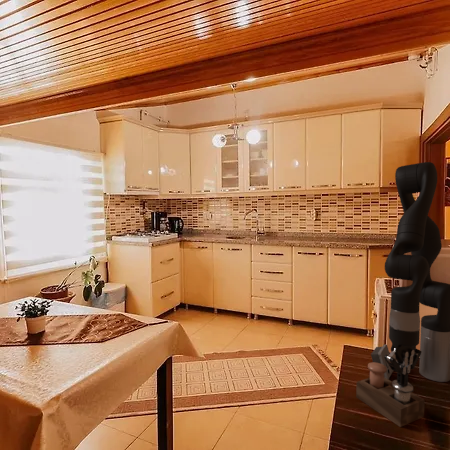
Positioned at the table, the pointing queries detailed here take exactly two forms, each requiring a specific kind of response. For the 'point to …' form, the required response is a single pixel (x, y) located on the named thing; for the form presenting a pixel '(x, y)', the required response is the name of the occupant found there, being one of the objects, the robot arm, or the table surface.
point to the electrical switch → (382, 358)
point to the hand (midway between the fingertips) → (402, 384)
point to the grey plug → (402, 392)
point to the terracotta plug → (377, 374)
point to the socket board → (390, 402)
